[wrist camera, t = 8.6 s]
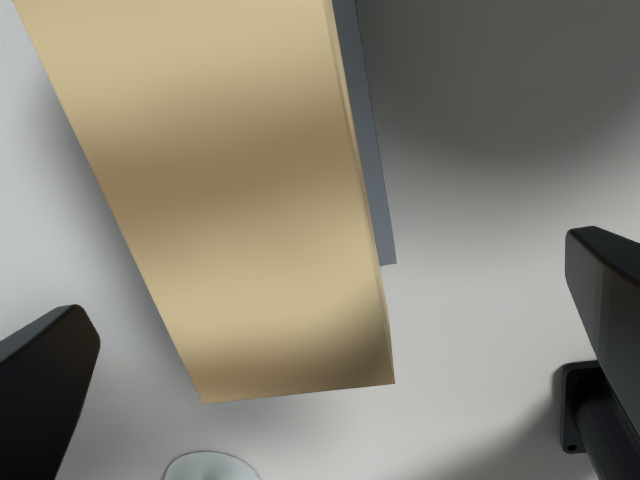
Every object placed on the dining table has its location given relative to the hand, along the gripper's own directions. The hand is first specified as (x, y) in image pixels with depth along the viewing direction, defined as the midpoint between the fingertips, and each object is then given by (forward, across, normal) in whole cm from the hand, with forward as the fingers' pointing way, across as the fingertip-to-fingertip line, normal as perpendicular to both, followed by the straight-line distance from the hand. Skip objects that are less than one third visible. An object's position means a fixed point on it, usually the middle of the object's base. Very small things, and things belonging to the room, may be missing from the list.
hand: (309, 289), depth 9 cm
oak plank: (+6, +2, -1) cm, 7 cm away
